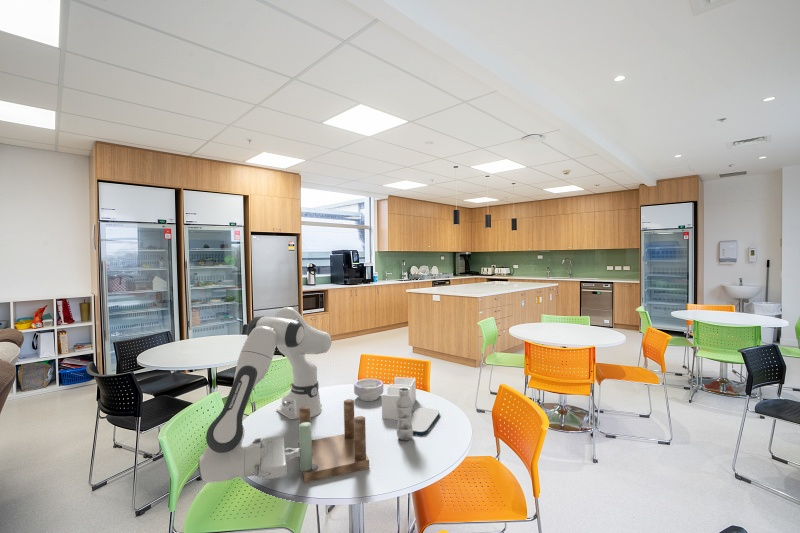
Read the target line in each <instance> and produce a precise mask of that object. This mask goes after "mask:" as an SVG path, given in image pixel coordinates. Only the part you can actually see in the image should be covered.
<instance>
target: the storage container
mask: <svg viewBox="0 0 800 533" xmlns="http://www.w3.org/2000/svg"><path fill="white" fill-rule="evenodd" d="M393 382H394V383H389V386H387V388H386V391H387V392H386V393H387V394H384V393H382V394H381V418H382V419H385V418H387V419H389V420H397V419H398V414H397V407H396V400H397V399H398V397H399V396H400V395H399V390H400V389H401V388H407V389H408V390H409V395H408V396H409V397H410V398H411V400H412V407H413V406H414V404H415V402H416V399H417V393H416V392H417V389H416V388H417V387H416V386H417V385H416V383H417V381H416V377H415V378H414V377H401V376H400V377H399V376H394V380H393ZM387 419H386V420H387Z"/></svg>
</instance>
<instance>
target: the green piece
mask: <svg viewBox="0 0 800 533" xmlns="http://www.w3.org/2000/svg"><path fill="white" fill-rule="evenodd" d="M298 437H299V438H298V443H299V449H300V456H299V469H300V471H302V472H303V471H307V470H310V469H311V468H312V455H313V451H312V440H313V439H312V423H311V422H310V423H309V422H304V423H301V424H300V423H299V425H298Z"/></svg>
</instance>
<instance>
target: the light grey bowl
mask: <svg viewBox="0 0 800 533" xmlns="http://www.w3.org/2000/svg"><path fill="white" fill-rule="evenodd" d="M353 387H354V389H353V391H354V395H355V396H357V397H358V399H359V400H361V401H365V402H372V401H376V400H378V399H379V397H380V396H382V394H384V382H383V381H382V380H381V379H377V378H363V379H359V380H356V381H355V382H354V383H353Z"/></svg>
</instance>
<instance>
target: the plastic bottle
mask: <svg viewBox="0 0 800 533" xmlns="http://www.w3.org/2000/svg"><path fill="white" fill-rule="evenodd" d="M399 395H400V396H399V397H398V399H397V400H396V407H397V414H398V420H397V425H396V436H397V438H398V439H399V440H401V441H409V440H411V439H412V438H413V436H414V434H413V428H412V422H411V415H412V410H413V409H412V408H413V406H412V400H411V398H410V397H409V396H408V395H409V390H408V389H407V388H401V389H400V390H399Z"/></svg>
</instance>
